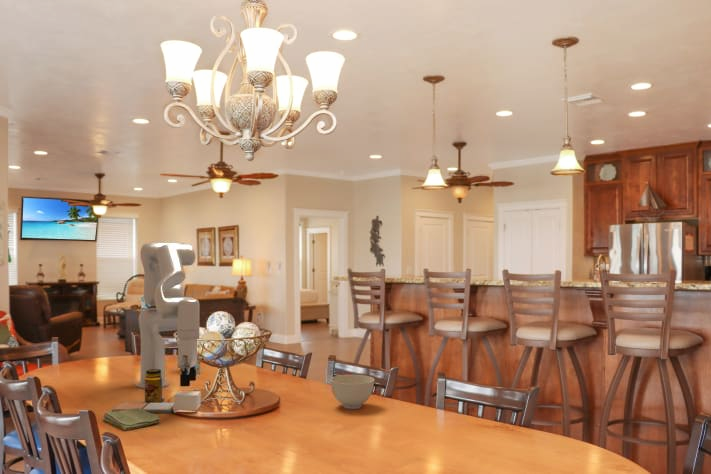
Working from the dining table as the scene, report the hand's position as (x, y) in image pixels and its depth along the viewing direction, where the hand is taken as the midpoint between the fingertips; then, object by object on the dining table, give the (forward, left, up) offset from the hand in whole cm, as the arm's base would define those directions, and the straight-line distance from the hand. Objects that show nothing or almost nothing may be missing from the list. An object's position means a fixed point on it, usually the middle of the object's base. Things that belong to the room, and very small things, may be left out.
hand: (188, 383), depth 224 cm
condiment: (-13, -15, -10) cm, 22 cm away
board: (-2, -15, -10) cm, 18 cm away
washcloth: (+14, -15, -10) cm, 23 cm away
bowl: (-6, +58, -10) cm, 59 cm away
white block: (-1, 0, -10) cm, 10 cm away
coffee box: (-67, -13, -10) cm, 69 cm away
